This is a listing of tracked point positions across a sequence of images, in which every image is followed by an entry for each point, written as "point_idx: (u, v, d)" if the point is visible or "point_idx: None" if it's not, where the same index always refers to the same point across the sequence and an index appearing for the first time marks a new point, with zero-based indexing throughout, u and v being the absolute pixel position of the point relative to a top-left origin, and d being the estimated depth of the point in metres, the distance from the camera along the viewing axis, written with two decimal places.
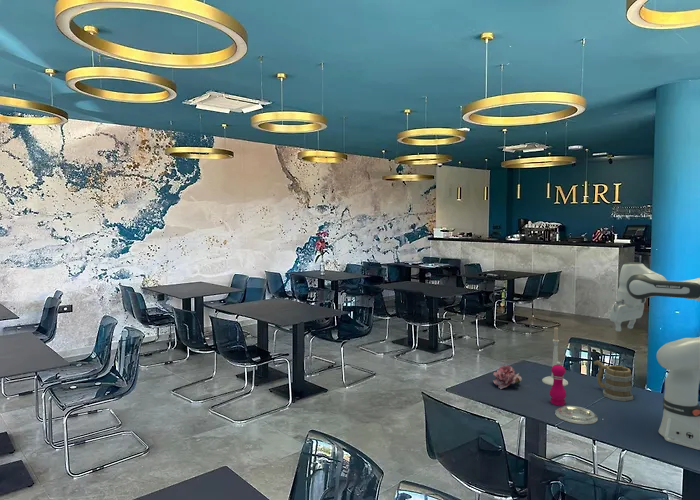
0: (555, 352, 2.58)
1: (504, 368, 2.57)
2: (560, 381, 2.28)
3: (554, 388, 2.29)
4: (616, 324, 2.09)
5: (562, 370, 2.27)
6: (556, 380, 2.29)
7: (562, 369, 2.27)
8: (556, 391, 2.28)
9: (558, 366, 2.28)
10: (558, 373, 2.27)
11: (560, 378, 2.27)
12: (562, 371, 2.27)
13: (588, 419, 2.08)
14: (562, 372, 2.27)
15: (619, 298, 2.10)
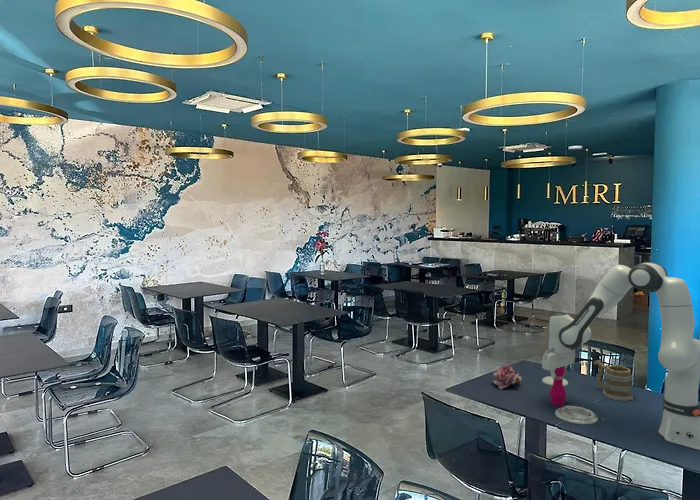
0: None
1: (504, 368, 2.57)
2: (560, 381, 2.28)
3: (554, 388, 2.29)
4: (551, 371, 2.27)
5: (562, 370, 2.27)
6: (556, 380, 2.29)
7: (562, 369, 2.27)
8: (556, 391, 2.28)
9: None
10: (558, 373, 2.27)
11: (560, 378, 2.27)
12: (562, 371, 2.27)
13: (588, 419, 2.08)
14: (562, 372, 2.27)
15: (550, 347, 2.28)
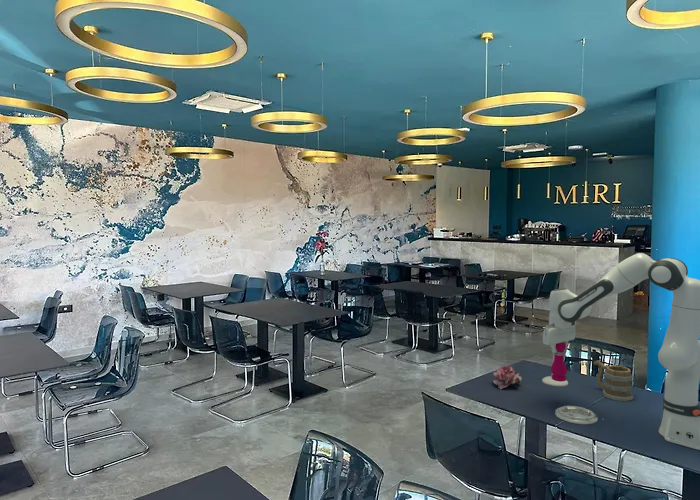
0: None
1: (504, 368, 2.57)
2: (561, 357, 2.27)
3: (555, 364, 2.28)
4: (551, 346, 2.27)
5: (563, 346, 2.26)
6: (557, 356, 2.28)
7: (563, 345, 2.26)
8: (557, 367, 2.27)
9: None
10: (559, 349, 2.26)
11: (561, 354, 2.27)
12: (563, 346, 2.26)
13: (588, 419, 2.08)
14: (563, 348, 2.26)
15: (550, 322, 2.27)
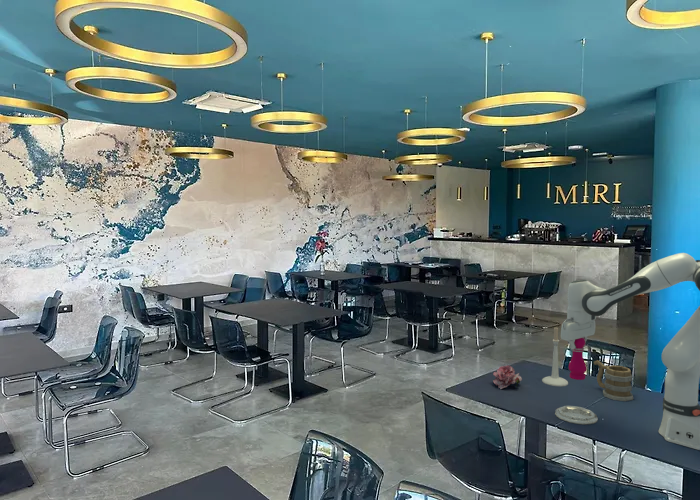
0: (555, 352, 2.58)
1: (504, 368, 2.57)
2: (580, 353, 2.11)
3: (574, 361, 2.12)
4: (570, 342, 2.11)
5: (582, 341, 2.10)
6: (576, 352, 2.12)
7: (582, 340, 2.11)
8: (576, 364, 2.11)
9: None
10: (578, 345, 2.10)
11: (580, 350, 2.11)
12: (582, 342, 2.10)
13: (588, 419, 2.08)
14: (582, 343, 2.10)
15: (569, 316, 2.12)
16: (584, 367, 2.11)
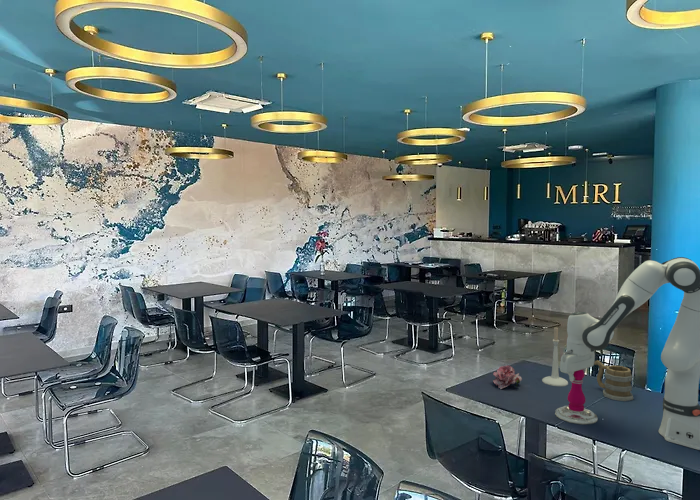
0: (555, 352, 2.58)
1: (504, 368, 2.57)
2: (579, 385, 2.12)
3: (573, 393, 2.13)
4: (569, 374, 2.12)
5: (581, 373, 2.11)
6: (575, 384, 2.13)
7: (581, 372, 2.11)
8: (575, 396, 2.12)
9: None
10: (577, 377, 2.11)
11: (579, 382, 2.12)
12: (581, 374, 2.11)
13: (588, 419, 2.08)
14: (581, 376, 2.11)
15: (568, 348, 2.12)
16: (583, 399, 2.12)
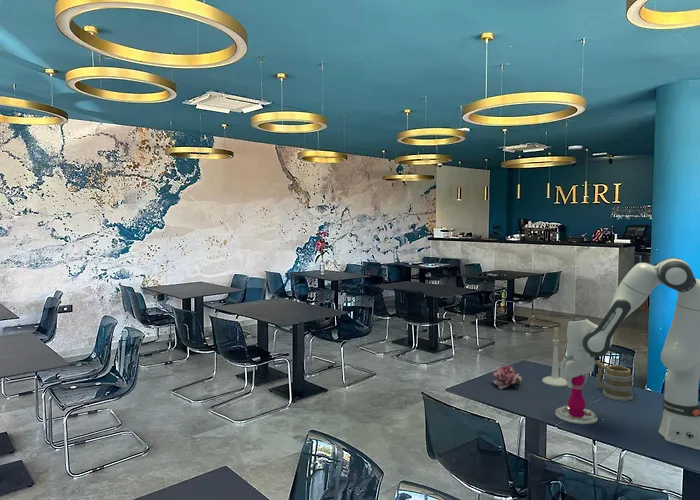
0: (555, 352, 2.58)
1: (504, 368, 2.57)
2: (579, 391, 2.12)
3: (573, 398, 2.13)
4: (567, 380, 2.11)
5: (581, 379, 2.11)
6: (575, 390, 2.13)
7: (581, 378, 2.11)
8: (575, 401, 2.12)
9: None
10: (577, 382, 2.11)
11: (579, 387, 2.12)
12: (581, 380, 2.11)
13: (588, 419, 2.08)
14: (582, 381, 2.11)
15: (568, 354, 2.13)
16: (583, 404, 2.12)
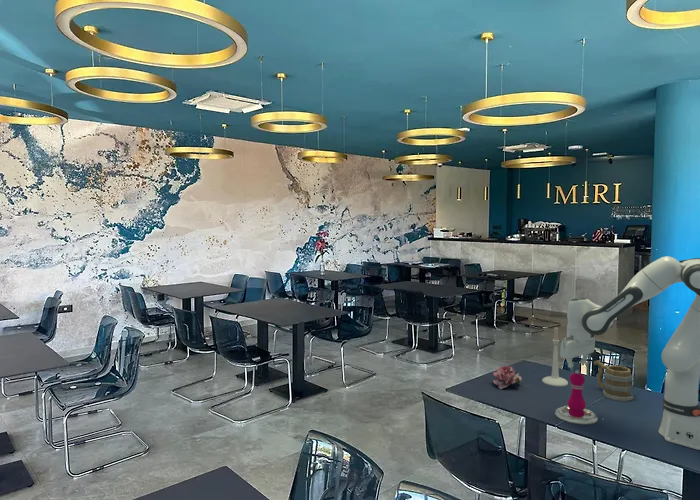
0: (555, 352, 2.58)
1: (504, 368, 2.57)
2: (579, 391, 2.12)
3: (573, 398, 2.13)
4: (567, 360, 2.10)
5: (582, 379, 2.11)
6: (575, 390, 2.13)
7: (581, 378, 2.11)
8: (575, 401, 2.12)
9: (577, 375, 2.13)
10: (577, 382, 2.11)
11: (579, 387, 2.12)
12: (581, 380, 2.11)
13: (588, 419, 2.08)
14: (582, 381, 2.11)
15: (568, 334, 2.12)
16: (583, 404, 2.12)
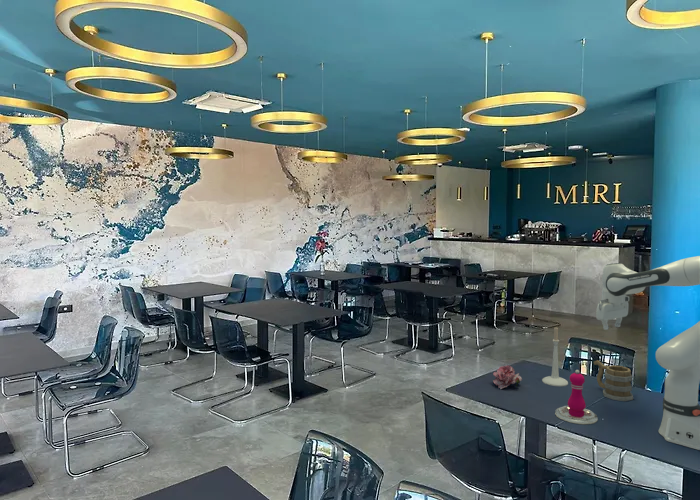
0: (555, 352, 2.58)
1: (504, 368, 2.57)
2: (579, 391, 2.12)
3: (573, 398, 2.13)
4: (603, 323, 2.20)
5: (581, 379, 2.11)
6: (575, 390, 2.13)
7: (581, 378, 2.11)
8: (575, 401, 2.12)
9: (577, 375, 2.13)
10: (577, 382, 2.11)
11: (579, 387, 2.12)
12: (581, 380, 2.11)
13: (588, 419, 2.08)
14: (582, 381, 2.11)
15: (604, 298, 2.22)
16: (583, 404, 2.12)
